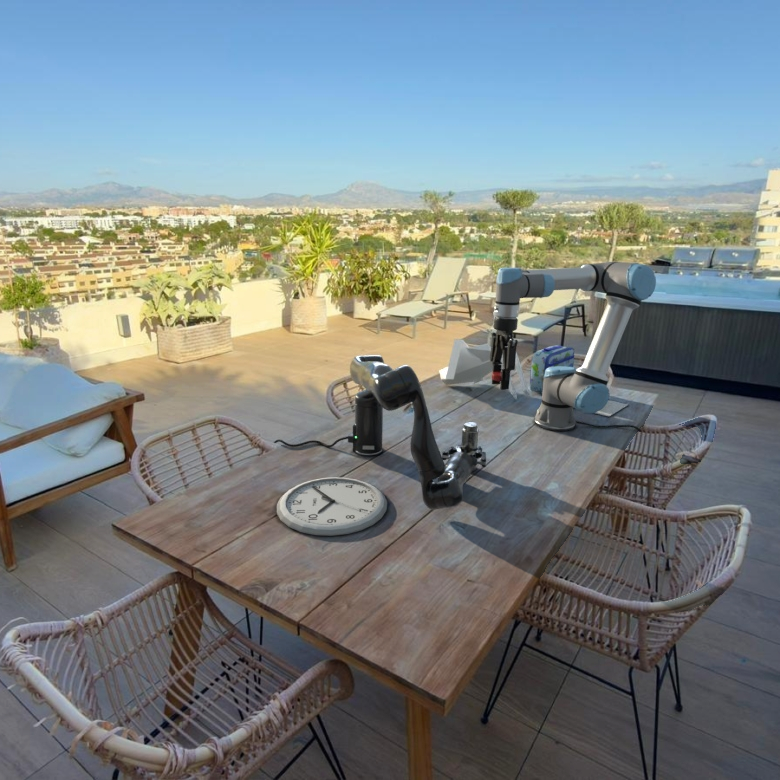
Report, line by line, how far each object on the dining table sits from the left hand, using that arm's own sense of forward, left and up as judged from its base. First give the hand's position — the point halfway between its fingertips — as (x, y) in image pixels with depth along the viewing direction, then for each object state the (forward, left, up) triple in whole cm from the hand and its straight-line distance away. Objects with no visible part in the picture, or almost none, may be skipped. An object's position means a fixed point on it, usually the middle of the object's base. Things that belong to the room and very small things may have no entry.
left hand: (470, 447), depth 167 cm
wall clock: (-29, -40, -6) cm, 50 cm away
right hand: (+5, +16, +17) cm, 24 cm away
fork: (-37, +47, -6) cm, 60 cm away
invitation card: (+40, +80, -6) cm, 89 cm away
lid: (+5, +16, +21) cm, 27 cm away
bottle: (0, -3, -6) cm, 7 cm away
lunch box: (+17, +96, -6) cm, 97 cm away
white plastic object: (-13, +79, -6) cm, 80 cm away
